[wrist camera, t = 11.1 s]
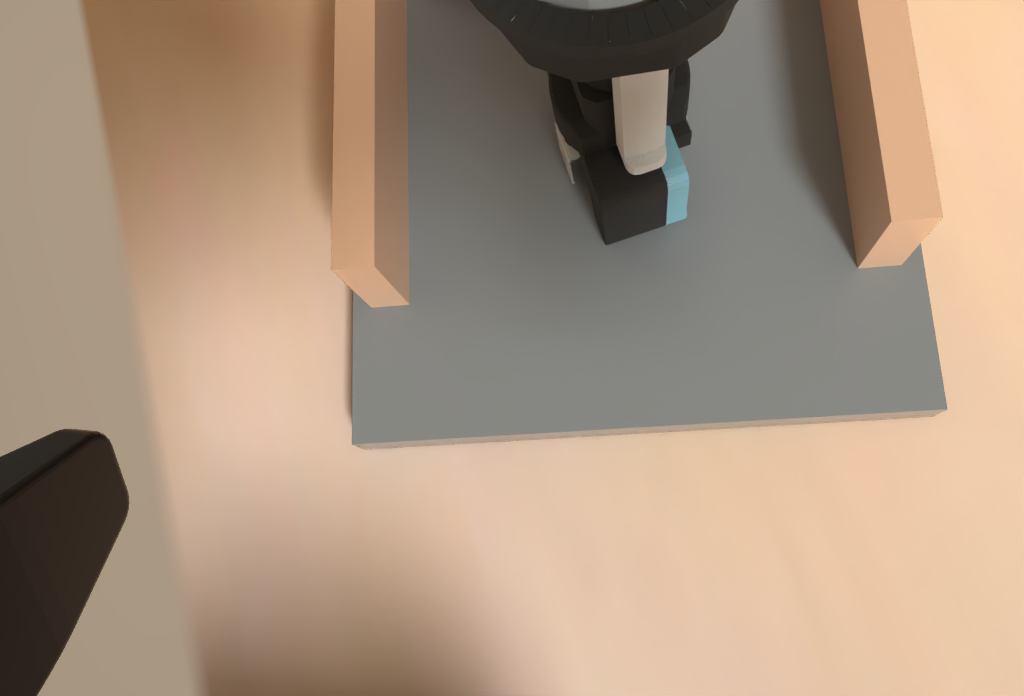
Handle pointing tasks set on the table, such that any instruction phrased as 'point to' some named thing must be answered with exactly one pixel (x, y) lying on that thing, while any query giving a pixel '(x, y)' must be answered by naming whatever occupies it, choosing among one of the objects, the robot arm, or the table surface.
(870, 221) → the end holder
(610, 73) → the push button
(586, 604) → the table surface
